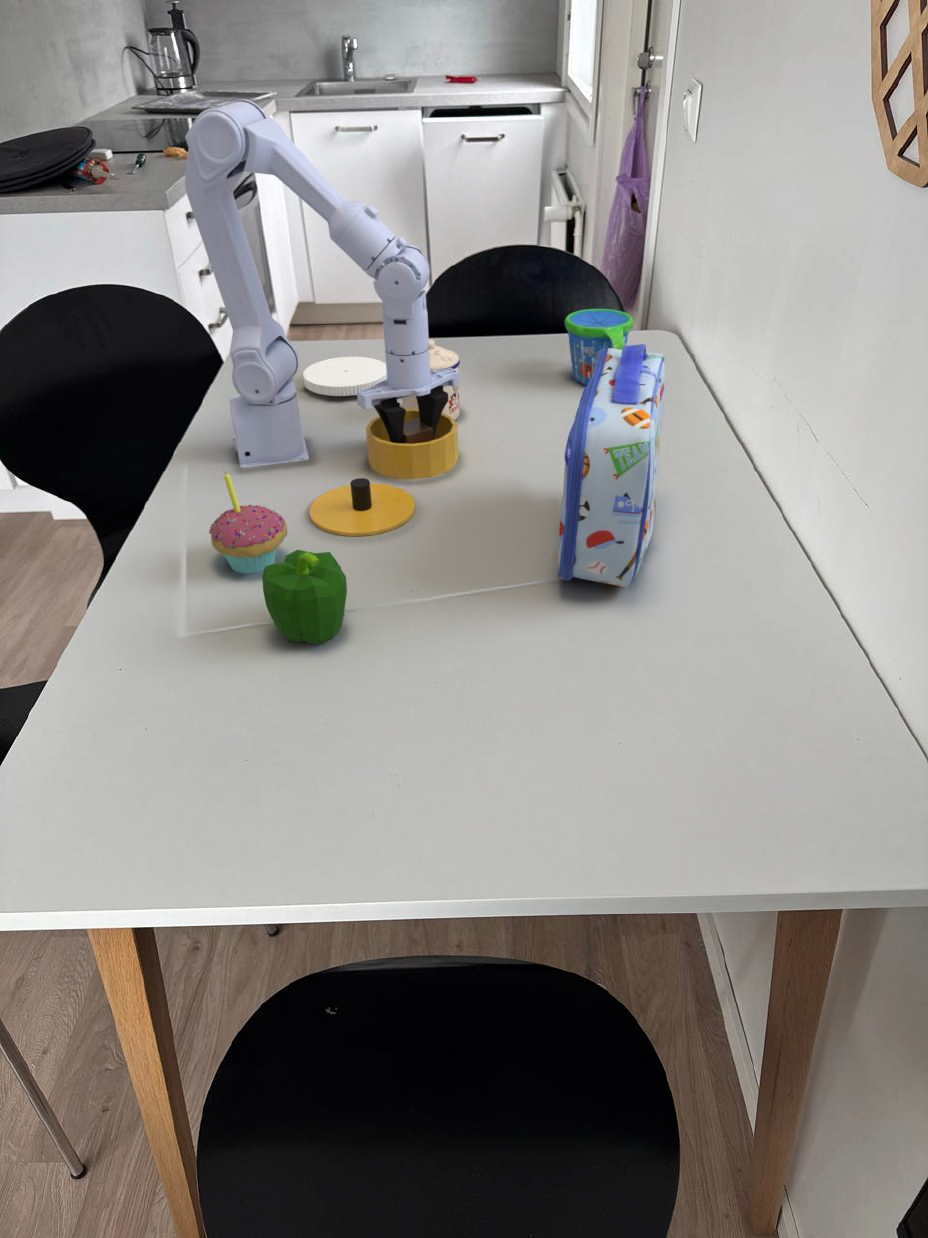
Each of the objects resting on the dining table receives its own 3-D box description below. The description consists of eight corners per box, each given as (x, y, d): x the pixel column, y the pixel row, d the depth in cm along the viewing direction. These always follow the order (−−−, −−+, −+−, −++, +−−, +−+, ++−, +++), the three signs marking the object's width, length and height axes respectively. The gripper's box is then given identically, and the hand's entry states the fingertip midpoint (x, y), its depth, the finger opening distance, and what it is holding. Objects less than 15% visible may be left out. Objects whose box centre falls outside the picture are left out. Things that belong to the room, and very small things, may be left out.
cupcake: (201, 574, 108) (181, 479, 101) (248, 541, 114) (232, 449, 108) (261, 592, 105) (244, 495, 98) (306, 557, 111) (293, 463, 104)
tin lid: (316, 547, 113) (311, 513, 110) (305, 497, 124) (301, 466, 121) (424, 532, 115) (422, 499, 113) (405, 485, 126) (403, 453, 123)
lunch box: (576, 487, 124) (584, 319, 112) (656, 493, 122) (674, 322, 110) (548, 602, 102) (555, 408, 90) (646, 611, 100) (667, 414, 88)
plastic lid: (298, 377, 160) (296, 362, 159) (379, 366, 163) (377, 352, 162) (312, 406, 149) (310, 391, 148) (398, 395, 152) (397, 379, 151)
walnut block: (408, 464, 128) (406, 435, 126) (392, 453, 131) (390, 425, 129) (434, 456, 130) (433, 427, 128) (418, 446, 133) (417, 418, 131)
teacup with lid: (463, 426, 141) (461, 349, 135) (402, 429, 141) (397, 352, 134) (457, 396, 151) (455, 323, 145) (400, 399, 151) (395, 326, 144)
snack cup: (550, 366, 162) (552, 306, 156) (609, 360, 163) (613, 300, 158) (580, 399, 149) (583, 335, 143) (643, 392, 151) (648, 329, 145)
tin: (377, 487, 125) (374, 450, 122) (363, 450, 135) (360, 414, 132) (466, 476, 128) (465, 439, 125) (446, 440, 137) (445, 405, 134)
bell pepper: (264, 618, 101) (249, 536, 95) (339, 602, 103) (329, 521, 97) (279, 663, 94) (265, 578, 88) (359, 644, 96) (351, 560, 91)
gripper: (372, 368, 116) (380, 469, 124) (470, 345, 123) (472, 442, 130) (346, 353, 121) (355, 451, 129) (441, 331, 128) (445, 426, 135)
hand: (412, 445), depth 130 cm, fingers closed on walnut block, 4 cm apart
